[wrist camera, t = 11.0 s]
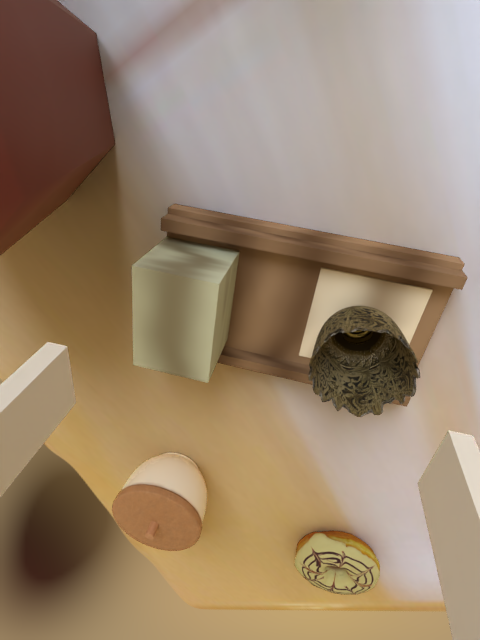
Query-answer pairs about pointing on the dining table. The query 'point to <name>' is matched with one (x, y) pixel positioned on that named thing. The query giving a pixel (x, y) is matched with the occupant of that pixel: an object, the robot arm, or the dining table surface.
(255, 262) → the brown wooden tray
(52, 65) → the bucket
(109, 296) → the dining table surface
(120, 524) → the lidded jar
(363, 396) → the cup
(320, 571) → the decorated donut
